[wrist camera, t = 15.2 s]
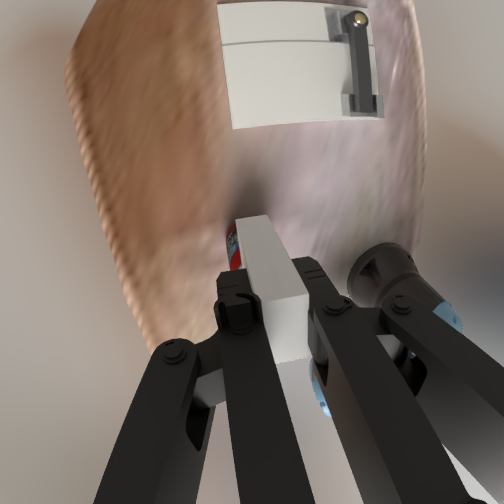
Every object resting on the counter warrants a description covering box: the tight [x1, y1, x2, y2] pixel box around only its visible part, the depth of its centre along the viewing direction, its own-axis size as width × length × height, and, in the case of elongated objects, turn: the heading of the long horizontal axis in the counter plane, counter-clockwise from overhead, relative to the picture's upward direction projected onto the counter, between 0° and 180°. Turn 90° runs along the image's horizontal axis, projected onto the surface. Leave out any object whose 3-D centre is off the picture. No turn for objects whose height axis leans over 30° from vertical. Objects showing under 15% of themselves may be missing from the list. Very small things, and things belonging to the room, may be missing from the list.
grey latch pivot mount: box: [324, 8, 352, 43], centre depth 34 cm, size 6×6×3 cm
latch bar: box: [344, 10, 373, 113], centre depth 34 cm, size 16×3×2 cm, turn 5°
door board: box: [217, 1, 380, 129], centre depth 38 cm, size 20×24×1 cm
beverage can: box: [226, 225, 243, 271], centre depth 45 cm, size 7×7×12 cm
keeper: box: [340, 94, 384, 118], centre depth 39 cm, size 4×5×5 cm
